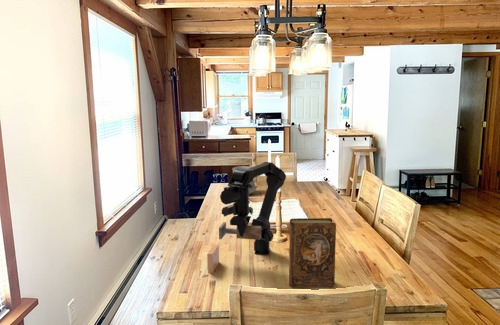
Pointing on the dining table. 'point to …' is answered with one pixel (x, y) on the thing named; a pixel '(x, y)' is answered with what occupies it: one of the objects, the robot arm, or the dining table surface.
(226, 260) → the dining table surface
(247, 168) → the vessel
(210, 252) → the tile
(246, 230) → the scraper
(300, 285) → the book
